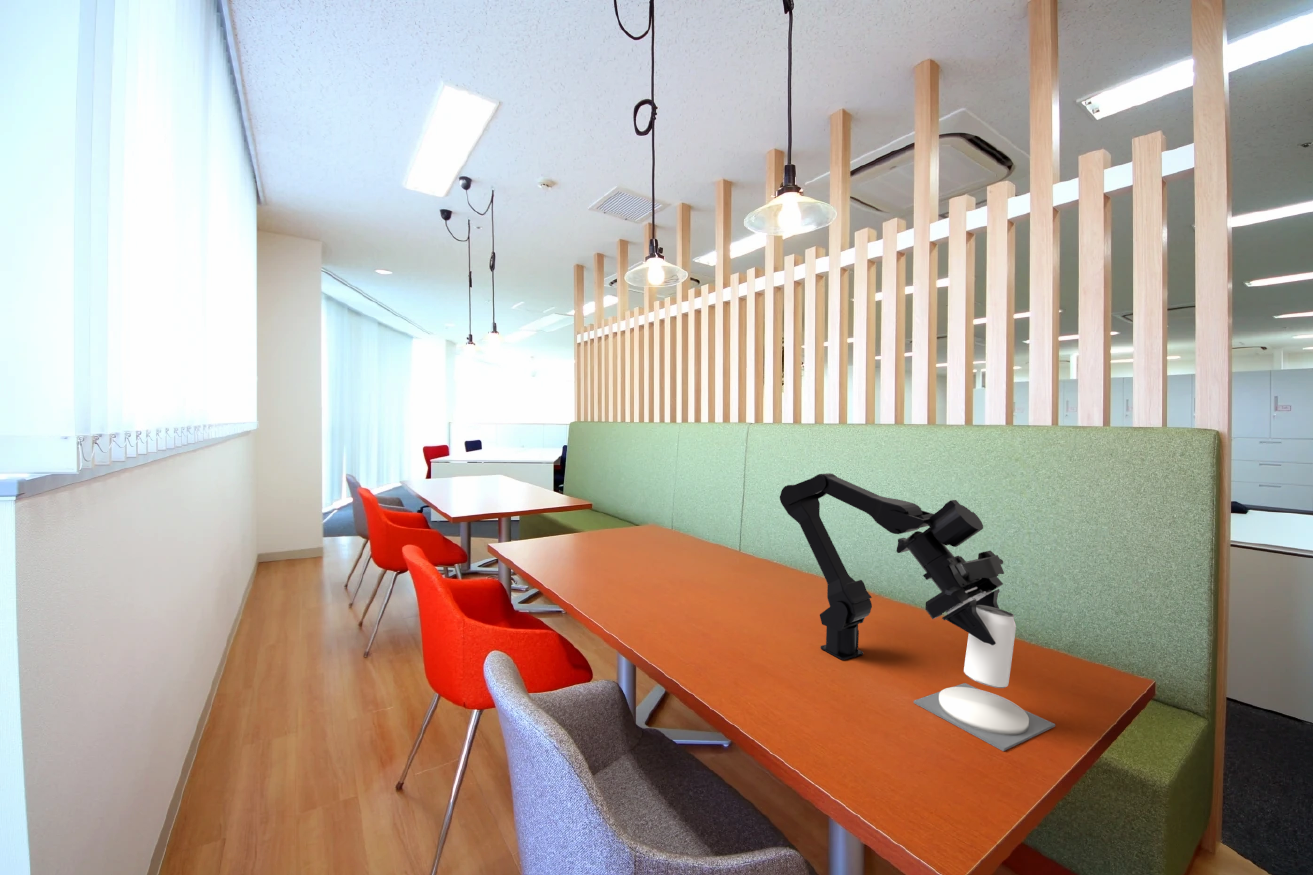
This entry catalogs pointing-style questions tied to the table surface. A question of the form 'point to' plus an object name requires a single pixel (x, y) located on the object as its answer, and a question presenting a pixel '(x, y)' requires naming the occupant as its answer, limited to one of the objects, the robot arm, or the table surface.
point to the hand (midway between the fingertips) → (1000, 640)
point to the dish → (985, 715)
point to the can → (991, 649)
